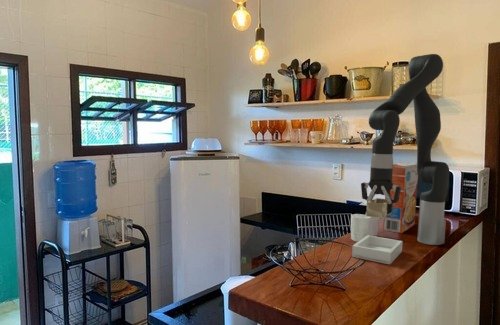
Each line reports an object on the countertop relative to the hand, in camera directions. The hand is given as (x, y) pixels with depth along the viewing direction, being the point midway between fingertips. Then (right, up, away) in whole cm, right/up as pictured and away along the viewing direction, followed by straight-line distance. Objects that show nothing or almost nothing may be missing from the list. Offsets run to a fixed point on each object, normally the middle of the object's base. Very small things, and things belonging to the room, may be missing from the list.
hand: (379, 212), depth 141 cm
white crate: (0, -15, +1) cm, 15 cm away
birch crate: (0, -1, 0) cm, 1 cm away
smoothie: (+6, -14, +27) cm, 31 cm away
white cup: (-2, -14, +19) cm, 24 cm away
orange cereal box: (+24, -13, +44) cm, 51 cm away
